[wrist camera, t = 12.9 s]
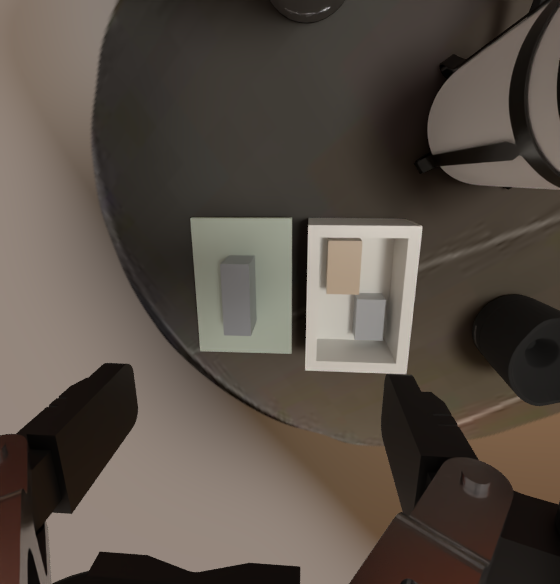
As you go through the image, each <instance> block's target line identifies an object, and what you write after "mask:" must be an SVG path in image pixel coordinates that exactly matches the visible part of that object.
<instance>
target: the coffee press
mask: <svg viewBox="0 0 560 584" xmlns="http://www.w3.org/2000/svg"><path fill="white" fill-rule="evenodd" d="M527 16H528V17H527ZM526 17H527V19H525V18H526ZM523 19H525V20H524V21H523V22H521V21H522V20H523ZM519 22H521V23H520V24H518V23H519ZM517 24H518V25H517ZM515 25H517V26H516V27H514V26H515ZM513 27H514V28H513ZM511 28H513V29H512V30H510V29H511ZM508 30H510V31H509V32H508V33H506V32H507V31H508ZM504 33H506V34H505V35H503V34H504ZM502 35H503V36H502ZM500 36H502V37H501V38H499V37H500ZM498 38H499V39H498ZM496 39H498V40H497V41H495V40H496ZM494 41H495V42H494ZM492 42H493V43H492ZM481 51H482V52H481ZM479 52H480V53H479ZM477 53H479V54H478V55H476V54H477ZM475 55H476V56H475ZM473 56H475V57H473ZM472 57H473V58H472ZM470 58H472V59H471V60H469V59H470ZM468 60H469V61H468ZM466 61H468V62H467V63H465V62H466ZM464 63H465V64H464ZM462 64H464V65H463V66H462V67H460V68H459V69H458V67H459V66H461V65H462ZM440 70H441V72H442V74H443V75H444V77H446V78H447V79H448V80H447V81H446V82H445V83H444V84H443V86H442V87H441V89H440V90H439V92H438V94H437V95H436V97H435V99H434V102H433V104H432V107H431V110H430V114H429V118H428V128H427V133H428V142H429V146H430V150H431V152H430V153H428V154H427V155H425V156H423V157H421V158H420V159H418V160H417V161H416V162H415V163H414V165H415V166H416V168H417V170H418V171H419V173H420V174H421V173H424V172H426V171H428V170H430V169H432V168H434V167H438V166H440V167H441V168H442V169H443V170H444V171H445V172H446V173H447V174H448V175H450V176H451V177H453V178H455V179H457V180H459V181H461V182H464V183H468V184H473V185H484V186H500V187H505V188H506V189H510V188H512V187H519V188H538V189H558V190H560V0H533V3H532V6H531V8H530V11H529V13H528V14H527V15H525V16H524V17H523V18H521V19H520V20H518V21H517V22H516V23H514V24H513V25H512V26H510V27H509V28H508V29H506V30H505V31H504V32H502V33H501V34H500V35H498V36H497V37H496V38H494V39H493V40H492V41H490V42H489V43H488V44H486V45H485V46H484V47H482V48H481V49H480V50H478V51H477V52H476V53H474V54H473V55H472V56H470V57H469V58H467V59H463V58H461V57H459V56H457V55H454V54H453V55H451V56H450V57H449V58H447V59H446V60H445V61H443V62H442V63H441V64H440Z"/></svg>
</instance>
